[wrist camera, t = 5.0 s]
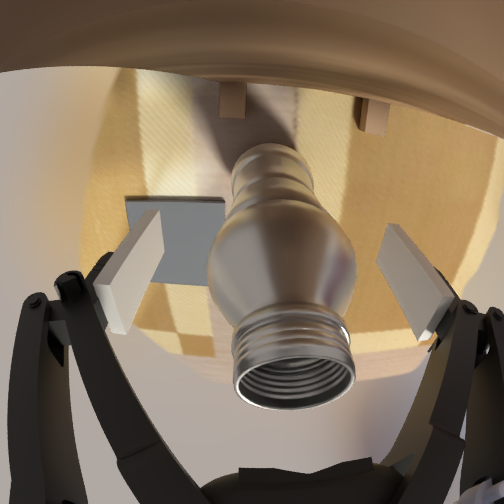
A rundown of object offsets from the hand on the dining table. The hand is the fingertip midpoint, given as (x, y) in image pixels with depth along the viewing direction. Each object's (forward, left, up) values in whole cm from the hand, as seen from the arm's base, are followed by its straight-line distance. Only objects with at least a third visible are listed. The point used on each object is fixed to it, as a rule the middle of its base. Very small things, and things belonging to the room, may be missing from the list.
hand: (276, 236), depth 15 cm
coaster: (+8, -9, -11) cm, 16 cm away
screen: (-9, +3, -11) cm, 14 cm away
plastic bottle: (0, 0, -11) cm, 11 cm away
